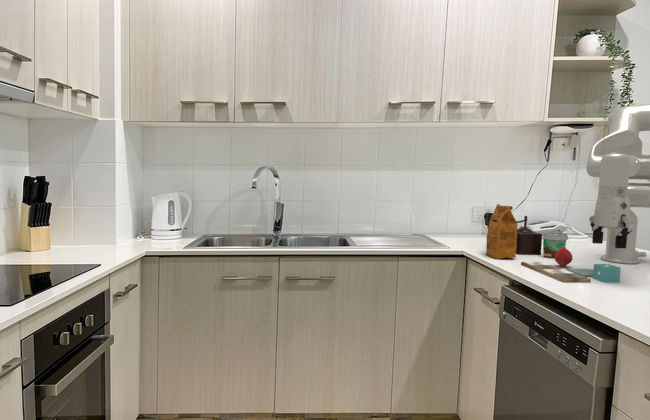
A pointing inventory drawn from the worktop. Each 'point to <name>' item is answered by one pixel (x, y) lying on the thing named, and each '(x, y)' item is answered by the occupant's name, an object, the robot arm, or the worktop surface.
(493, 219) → the coffee package
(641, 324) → the worktop surface
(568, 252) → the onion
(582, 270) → the mat
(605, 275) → the die
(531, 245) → the manual coffee grinder
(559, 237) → the food container
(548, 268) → the board
